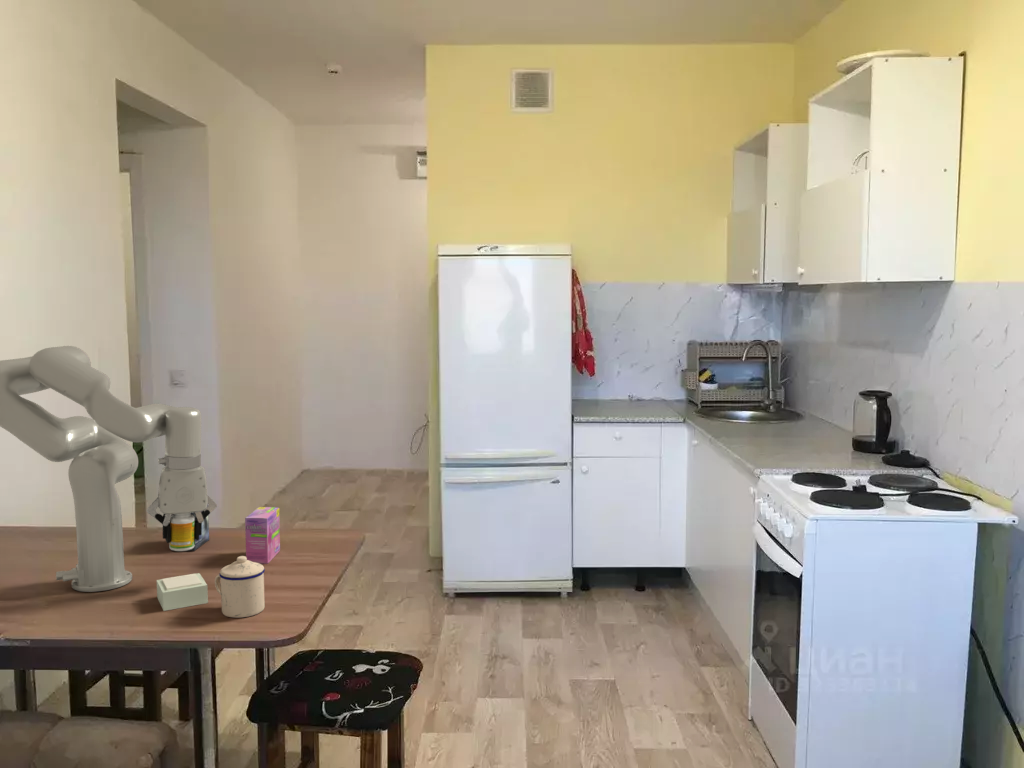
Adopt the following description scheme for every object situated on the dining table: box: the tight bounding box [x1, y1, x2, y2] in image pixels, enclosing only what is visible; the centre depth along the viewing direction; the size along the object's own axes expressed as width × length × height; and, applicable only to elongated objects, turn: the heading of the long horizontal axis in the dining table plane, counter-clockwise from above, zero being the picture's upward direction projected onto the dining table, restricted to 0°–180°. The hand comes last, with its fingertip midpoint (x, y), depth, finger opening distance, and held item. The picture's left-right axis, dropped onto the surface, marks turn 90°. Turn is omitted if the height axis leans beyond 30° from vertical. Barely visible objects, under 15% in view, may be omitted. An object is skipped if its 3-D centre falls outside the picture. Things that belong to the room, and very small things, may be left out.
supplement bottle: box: [168, 513, 195, 552], centre depth 189 cm, size 5×5×10 cm
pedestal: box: [156, 572, 209, 612], centre depth 181 cm, size 9×9×4 cm
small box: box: [171, 504, 210, 552], centre depth 220 cm, size 11×6×10 cm, turn 179°
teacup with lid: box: [214, 555, 266, 619], centre depth 176 cm, size 12×9×12 cm
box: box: [244, 506, 281, 565], centre depth 210 cm, size 10×6×12 cm, turn 179°
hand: (182, 539), depth 189 cm, fingers closed on supplement bottle, 5 cm apart
